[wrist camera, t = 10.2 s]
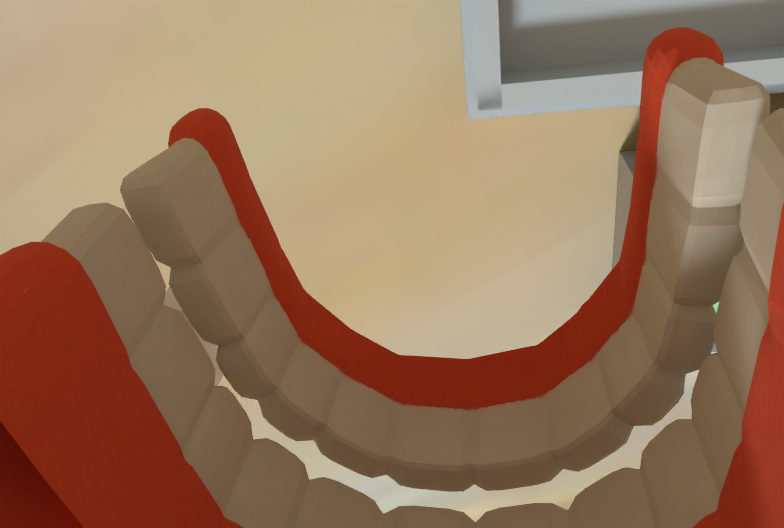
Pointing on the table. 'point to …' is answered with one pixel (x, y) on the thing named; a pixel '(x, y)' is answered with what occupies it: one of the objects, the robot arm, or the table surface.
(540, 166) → the table surface
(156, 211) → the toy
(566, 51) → the grey tray
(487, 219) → the table surface
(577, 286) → the table surface
